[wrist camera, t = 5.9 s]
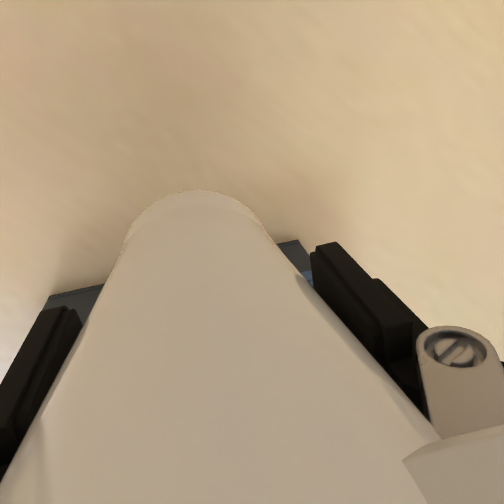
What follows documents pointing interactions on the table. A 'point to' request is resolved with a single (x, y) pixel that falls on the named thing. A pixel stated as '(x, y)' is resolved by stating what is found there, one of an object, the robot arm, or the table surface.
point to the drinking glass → (215, 382)
